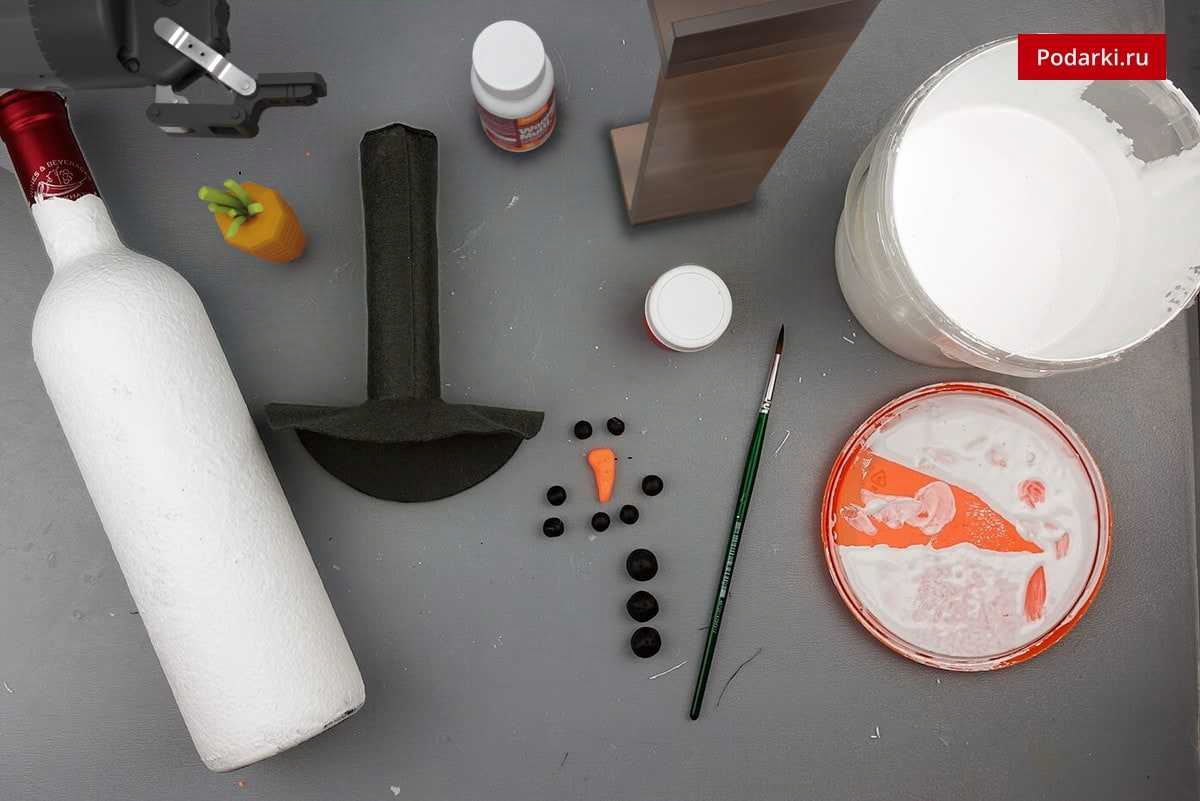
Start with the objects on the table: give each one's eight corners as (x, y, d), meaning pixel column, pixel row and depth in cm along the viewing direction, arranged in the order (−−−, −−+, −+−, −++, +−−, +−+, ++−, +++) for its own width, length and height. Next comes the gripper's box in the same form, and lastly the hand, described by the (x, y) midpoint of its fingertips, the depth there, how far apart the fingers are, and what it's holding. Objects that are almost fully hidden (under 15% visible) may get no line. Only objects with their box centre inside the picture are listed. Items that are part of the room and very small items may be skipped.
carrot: (339, 248, 73) (278, 193, 58) (297, 293, 73) (225, 249, 58) (294, 207, 73) (222, 142, 58) (252, 252, 73) (168, 198, 58)
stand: (609, 134, 74) (629, -69, 46) (726, 109, 75) (819, -107, 46) (631, 227, 74) (665, 80, 45) (749, 202, 74) (856, 40, 46)
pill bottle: (533, 167, 74) (525, 114, 63) (467, 131, 74) (448, 71, 63) (569, 103, 74) (568, 39, 63) (504, 68, 74) (491, -3, 63)
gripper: (22, 113, 52) (308, 104, 52) (23, -123, 53) (302, -129, 53) (92, 158, 59) (341, 150, 60) (91, -49, 60) (335, -56, 61)
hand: (322, 18), depth 56 cm, fingers open, 8 cm apart
